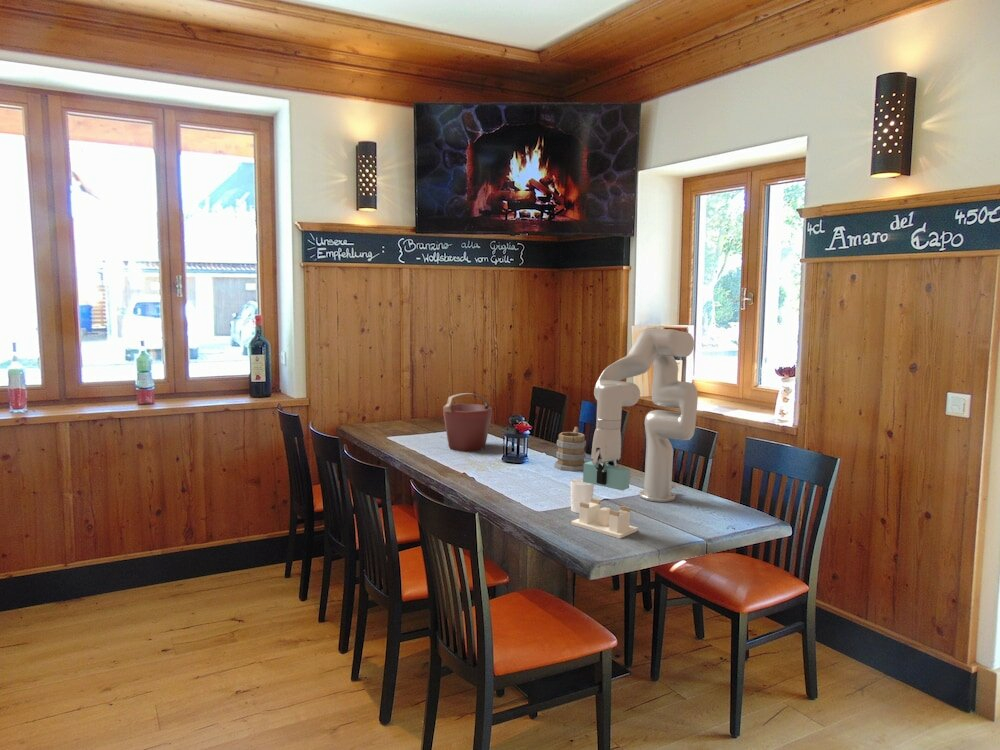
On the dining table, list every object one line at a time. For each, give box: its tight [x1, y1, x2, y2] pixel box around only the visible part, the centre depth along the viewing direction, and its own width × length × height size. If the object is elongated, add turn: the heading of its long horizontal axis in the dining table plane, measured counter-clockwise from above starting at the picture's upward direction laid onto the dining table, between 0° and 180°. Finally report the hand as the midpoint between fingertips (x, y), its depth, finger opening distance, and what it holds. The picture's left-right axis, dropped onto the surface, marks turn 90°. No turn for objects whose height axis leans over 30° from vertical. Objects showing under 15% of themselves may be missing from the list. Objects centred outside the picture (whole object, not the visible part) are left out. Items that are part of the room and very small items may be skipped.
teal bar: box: [582, 460, 631, 492], centre depth 224 cm, size 4×14×6 cm, turn 52°
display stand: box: [570, 497, 639, 539], centre depth 226 cm, size 10×18×7 cm, turn 49°
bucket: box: [442, 392, 493, 453], centre depth 332 cm, size 24×22×25 cm
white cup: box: [569, 478, 595, 514], centre depth 242 cm, size 8×8×10 cm
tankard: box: [554, 426, 587, 472], centre depth 304 cm, size 20×13×15 cm, turn 162°
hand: (605, 481), depth 224 cm, fingers closed on teal bar, 4 cm apart
